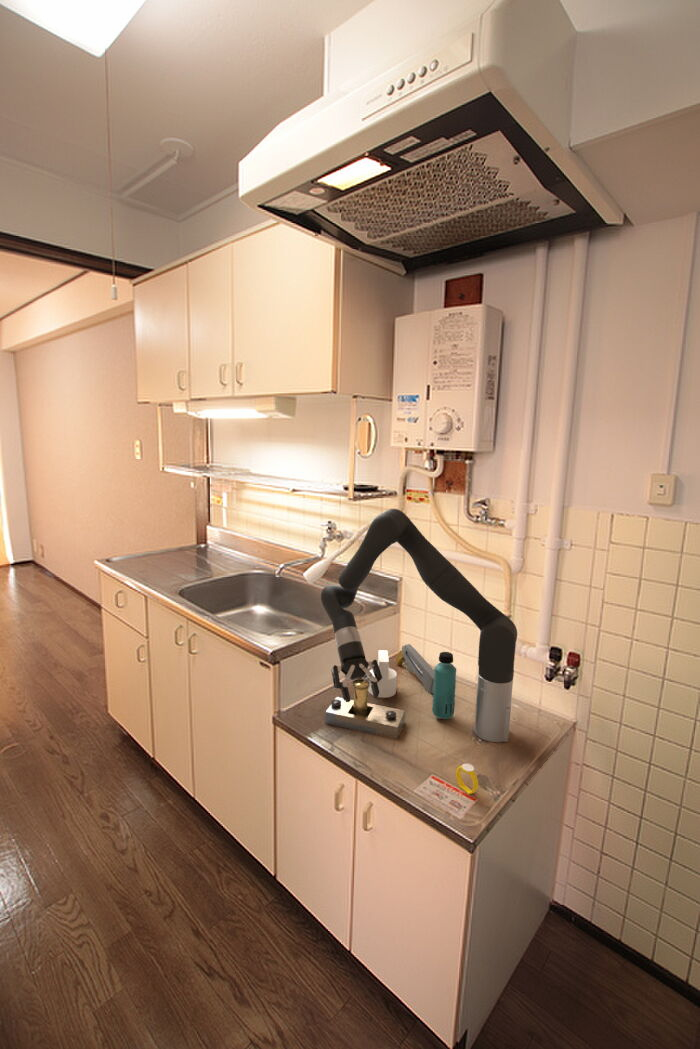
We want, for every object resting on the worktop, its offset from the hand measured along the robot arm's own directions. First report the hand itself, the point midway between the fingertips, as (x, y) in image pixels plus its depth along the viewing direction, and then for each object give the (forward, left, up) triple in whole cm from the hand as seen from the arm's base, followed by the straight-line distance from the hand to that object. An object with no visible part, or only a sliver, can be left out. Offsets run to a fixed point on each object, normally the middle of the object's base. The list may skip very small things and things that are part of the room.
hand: (362, 699), depth 142 cm
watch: (-31, +17, -8) cm, 36 cm away
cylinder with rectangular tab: (0, -21, -8) cm, 22 cm away
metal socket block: (-1, -1, -8) cm, 8 cm away
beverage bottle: (-21, -12, -8) cm, 26 cm away
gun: (-9, -33, -8) cm, 35 cm away
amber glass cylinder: (+1, -1, -8) cm, 8 cm away
